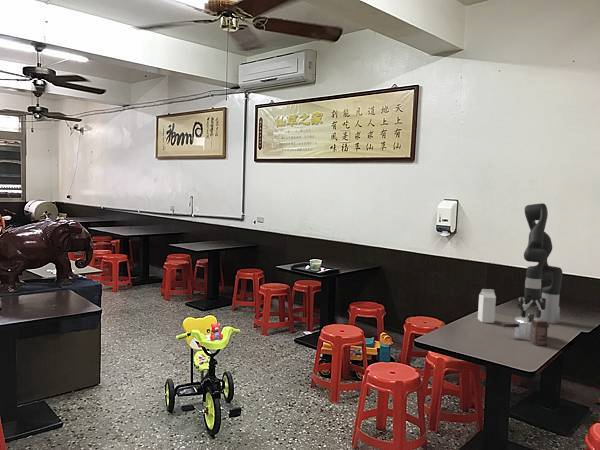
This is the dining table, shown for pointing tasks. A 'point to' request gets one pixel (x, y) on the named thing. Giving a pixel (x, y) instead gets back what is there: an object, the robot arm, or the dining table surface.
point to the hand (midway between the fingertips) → (530, 317)
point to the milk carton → (487, 306)
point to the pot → (521, 330)
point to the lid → (526, 319)
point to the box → (539, 332)
